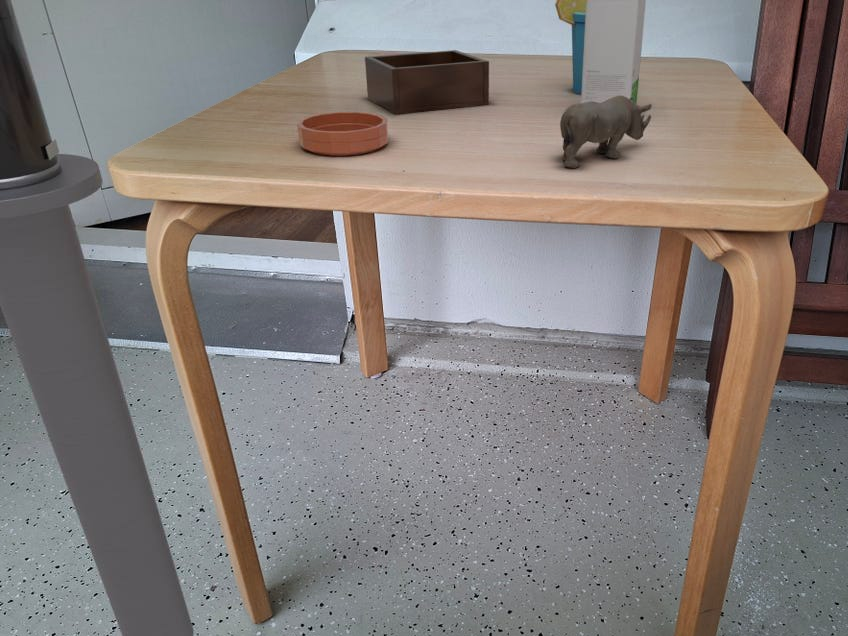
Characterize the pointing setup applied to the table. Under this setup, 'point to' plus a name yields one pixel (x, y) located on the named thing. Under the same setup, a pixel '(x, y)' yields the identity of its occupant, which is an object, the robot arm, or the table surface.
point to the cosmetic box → (612, 49)
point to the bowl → (343, 133)
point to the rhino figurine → (601, 126)
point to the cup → (575, 35)
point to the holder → (427, 81)
